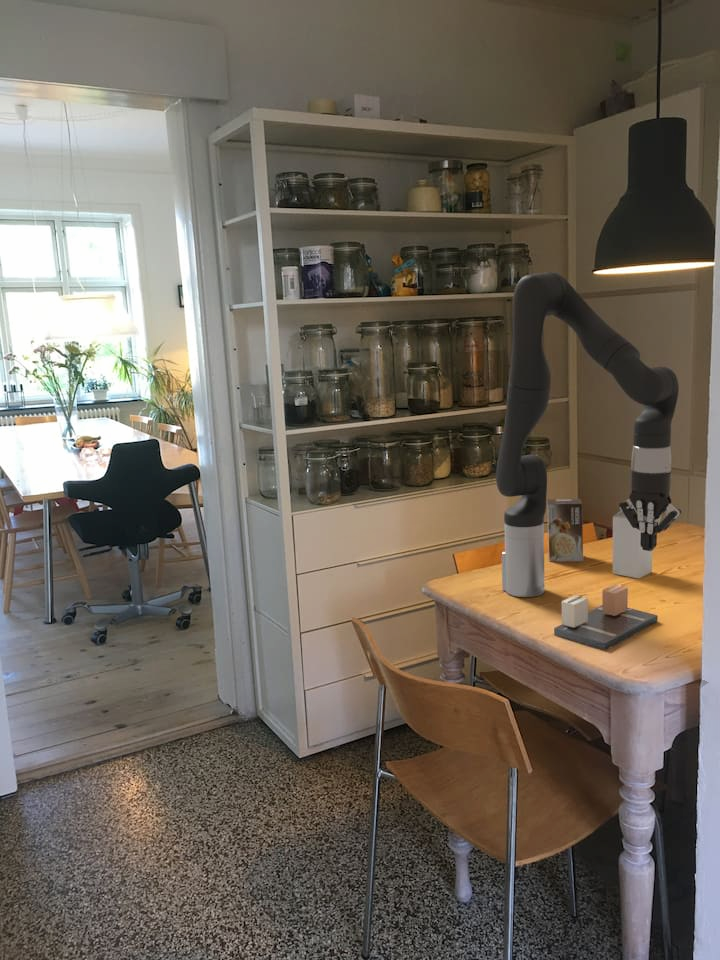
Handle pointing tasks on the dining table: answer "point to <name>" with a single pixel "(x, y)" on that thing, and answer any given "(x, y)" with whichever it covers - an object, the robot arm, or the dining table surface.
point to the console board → (607, 627)
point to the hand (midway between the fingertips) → (648, 549)
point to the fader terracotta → (615, 600)
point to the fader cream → (574, 611)
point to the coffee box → (565, 530)
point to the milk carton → (629, 549)
